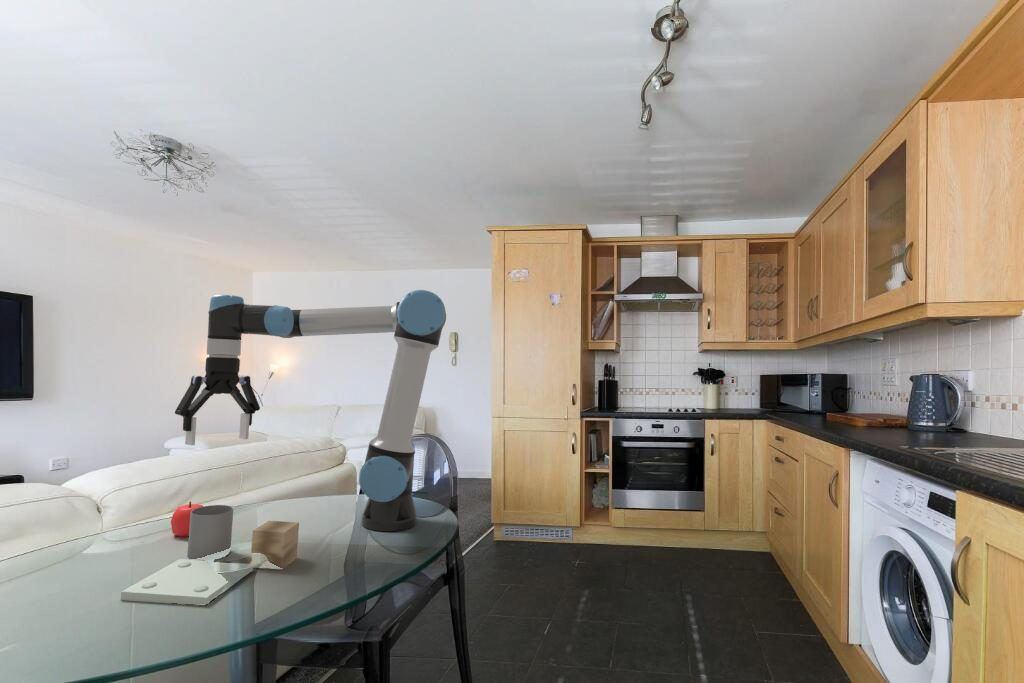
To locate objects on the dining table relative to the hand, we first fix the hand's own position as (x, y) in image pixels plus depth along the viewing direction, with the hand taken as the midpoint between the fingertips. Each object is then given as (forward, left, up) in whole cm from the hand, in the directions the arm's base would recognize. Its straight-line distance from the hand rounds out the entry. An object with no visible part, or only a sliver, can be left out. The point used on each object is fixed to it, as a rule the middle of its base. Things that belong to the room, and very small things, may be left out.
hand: (218, 441), depth 130 cm
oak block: (-23, +13, -23) cm, 35 cm away
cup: (-7, +11, -24) cm, 27 cm away
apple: (+6, -1, -24) cm, 25 cm away
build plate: (-13, +26, -23) cm, 37 cm away
